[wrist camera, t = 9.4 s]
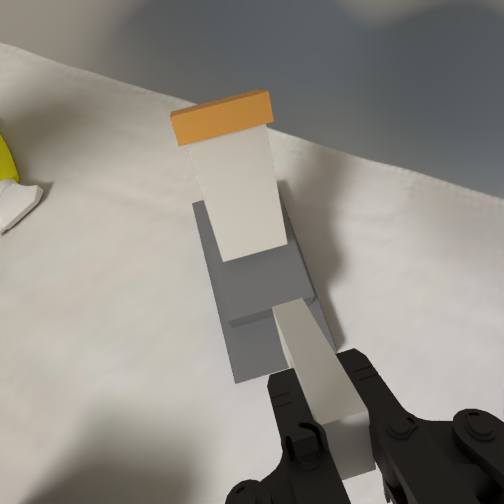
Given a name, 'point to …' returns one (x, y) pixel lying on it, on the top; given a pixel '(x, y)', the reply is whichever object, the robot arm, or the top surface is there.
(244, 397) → the top surface
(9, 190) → the spray bottle
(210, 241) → the block
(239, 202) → the lever
